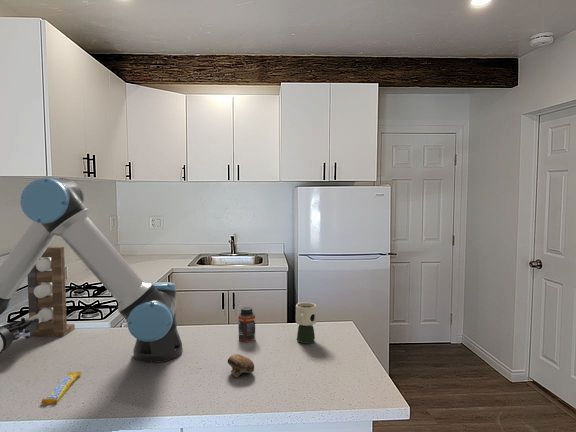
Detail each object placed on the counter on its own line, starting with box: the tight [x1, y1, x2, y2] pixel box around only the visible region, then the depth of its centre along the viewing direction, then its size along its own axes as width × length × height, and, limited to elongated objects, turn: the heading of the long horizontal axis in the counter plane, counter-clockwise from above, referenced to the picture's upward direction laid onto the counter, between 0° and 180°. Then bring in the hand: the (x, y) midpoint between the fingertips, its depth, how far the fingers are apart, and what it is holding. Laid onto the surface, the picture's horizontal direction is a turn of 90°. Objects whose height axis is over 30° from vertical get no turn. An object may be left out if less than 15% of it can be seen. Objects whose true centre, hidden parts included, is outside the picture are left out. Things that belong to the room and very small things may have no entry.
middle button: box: [34, 283, 52, 298], centre depth 150 cm, size 6×4×4 cm
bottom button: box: [38, 308, 53, 322], centre depth 152 cm, size 6×4×4 cm
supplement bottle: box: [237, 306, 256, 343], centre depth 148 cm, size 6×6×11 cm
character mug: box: [295, 301, 317, 344], centre depth 147 cm, size 11×7×13 cm, turn 162°
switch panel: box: [26, 246, 76, 338], centre depth 153 cm, size 9×12×32 cm
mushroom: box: [227, 353, 255, 379], centre depth 121 cm, size 8×8×6 cm
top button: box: [36, 257, 52, 272], centre depth 151 cm, size 6×4×4 cm
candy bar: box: [40, 371, 83, 406], centre depth 112 cm, size 17×4×2 cm, turn 6°
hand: (39, 317), depth 147 cm, fingers closed
